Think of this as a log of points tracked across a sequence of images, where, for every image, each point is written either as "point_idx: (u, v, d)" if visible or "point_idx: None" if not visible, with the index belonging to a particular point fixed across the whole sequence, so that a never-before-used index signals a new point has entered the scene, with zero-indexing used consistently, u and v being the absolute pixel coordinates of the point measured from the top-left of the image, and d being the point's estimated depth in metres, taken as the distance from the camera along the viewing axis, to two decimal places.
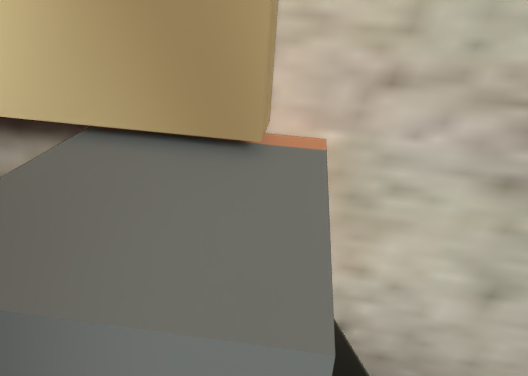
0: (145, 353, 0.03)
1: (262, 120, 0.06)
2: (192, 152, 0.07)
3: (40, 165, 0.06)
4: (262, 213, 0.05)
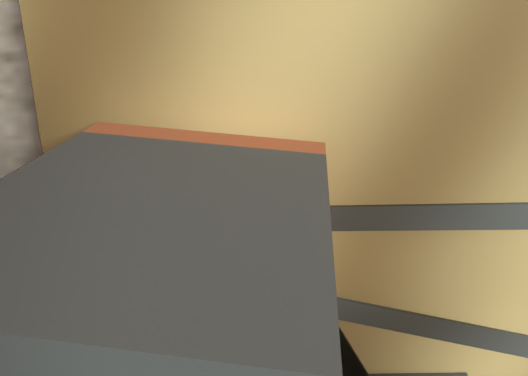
0: None
1: None
2: (188, 157, 0.06)
3: (31, 172, 0.06)
4: (262, 223, 0.05)
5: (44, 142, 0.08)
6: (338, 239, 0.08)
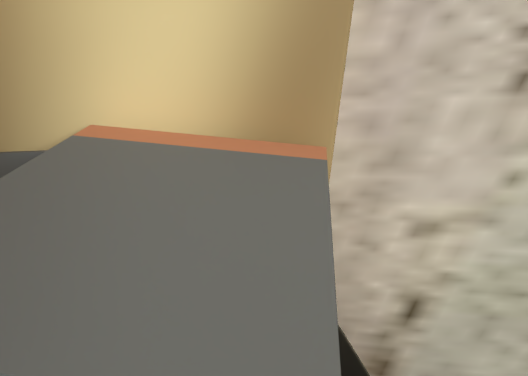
0: None
1: None
2: (183, 163, 0.06)
3: (16, 181, 0.05)
4: (258, 237, 0.04)
5: None
6: None
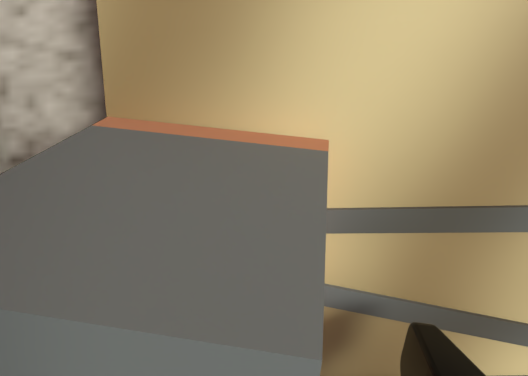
0: (131, 355, 0.03)
1: None
2: (192, 152, 0.06)
3: (40, 163, 0.06)
4: (258, 215, 0.05)
5: None
6: (410, 241, 0.08)
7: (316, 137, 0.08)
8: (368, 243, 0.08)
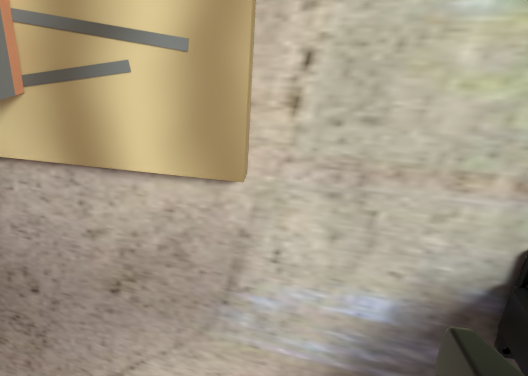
0: None
1: (243, 175, 0.20)
2: None
3: None
4: None
5: None
6: None
7: None
8: None
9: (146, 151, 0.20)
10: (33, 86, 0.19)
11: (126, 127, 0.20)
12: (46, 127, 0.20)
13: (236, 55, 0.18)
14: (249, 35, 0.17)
